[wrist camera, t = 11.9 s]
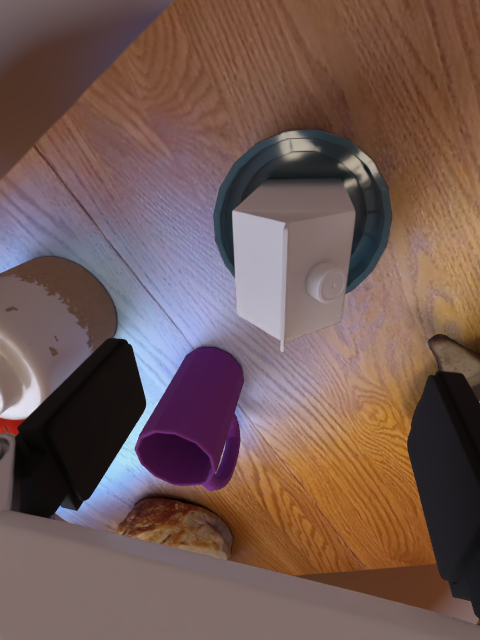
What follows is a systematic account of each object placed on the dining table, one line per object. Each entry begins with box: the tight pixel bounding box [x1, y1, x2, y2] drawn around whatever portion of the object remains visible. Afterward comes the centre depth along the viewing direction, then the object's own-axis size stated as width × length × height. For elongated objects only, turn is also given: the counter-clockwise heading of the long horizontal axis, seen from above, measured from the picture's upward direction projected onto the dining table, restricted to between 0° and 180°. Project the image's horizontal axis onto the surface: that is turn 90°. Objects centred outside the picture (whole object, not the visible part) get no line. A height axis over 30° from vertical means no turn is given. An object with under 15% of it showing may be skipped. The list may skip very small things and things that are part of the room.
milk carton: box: [232, 178, 355, 352], centre depth 25 cm, size 7×7×19 cm
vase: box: [0, 256, 117, 420], centre depth 39 cm, size 15×15×17 cm
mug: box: [135, 348, 244, 491], centre depth 42 cm, size 9×16×15 cm, turn 23°
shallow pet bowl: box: [213, 129, 392, 294], centre depth 31 cm, size 15×15×6 cm
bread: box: [116, 498, 234, 561], centre depth 66 cm, size 25×27×15 cm
